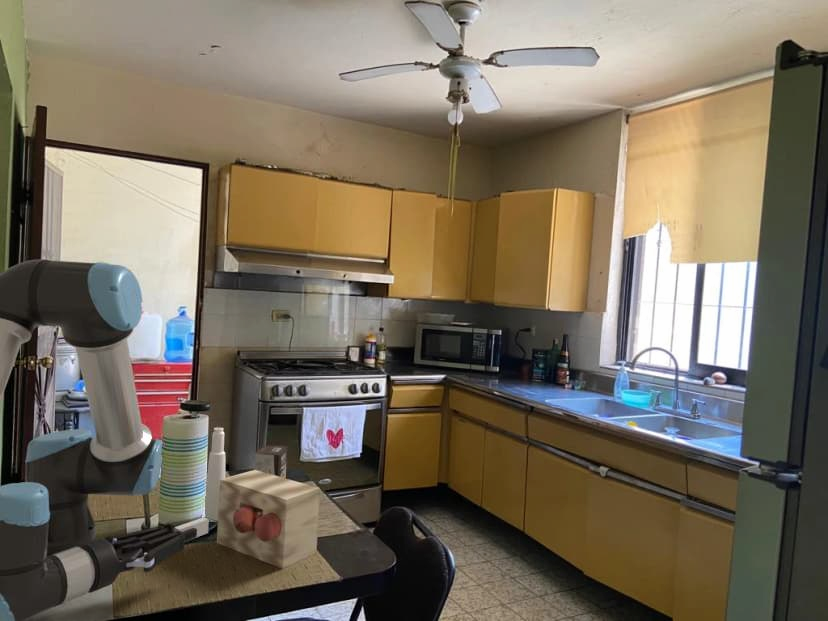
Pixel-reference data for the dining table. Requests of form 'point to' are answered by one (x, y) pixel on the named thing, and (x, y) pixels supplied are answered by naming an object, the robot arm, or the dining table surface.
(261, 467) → the coffee box
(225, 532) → the block
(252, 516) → the knob
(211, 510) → the cosmetic bottle
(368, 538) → the dining table surface
